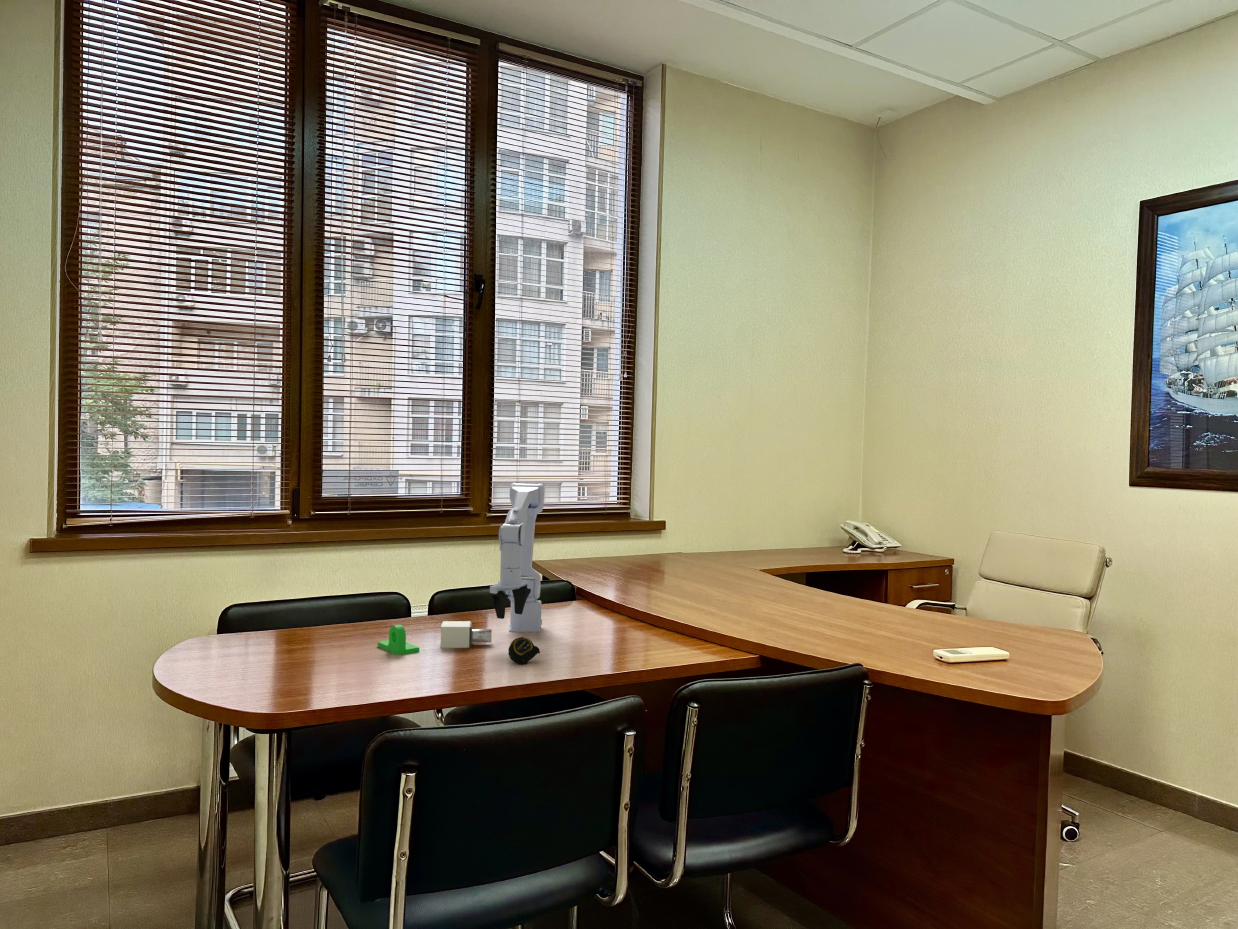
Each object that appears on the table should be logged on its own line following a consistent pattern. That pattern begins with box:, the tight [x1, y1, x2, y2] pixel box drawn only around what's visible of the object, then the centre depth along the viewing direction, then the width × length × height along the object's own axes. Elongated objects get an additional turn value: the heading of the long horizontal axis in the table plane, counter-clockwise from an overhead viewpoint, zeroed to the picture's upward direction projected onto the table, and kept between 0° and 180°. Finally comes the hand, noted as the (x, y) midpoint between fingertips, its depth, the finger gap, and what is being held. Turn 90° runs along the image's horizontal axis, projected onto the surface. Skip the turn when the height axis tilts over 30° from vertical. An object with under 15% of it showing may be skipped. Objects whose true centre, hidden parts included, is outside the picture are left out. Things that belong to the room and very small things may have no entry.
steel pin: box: [471, 628, 493, 644], centre depth 239 cm, size 9×4×4 cm, turn 97°
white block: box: [440, 620, 473, 649], centre depth 238 cm, size 8×7×6 cm
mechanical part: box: [377, 624, 420, 656], centre depth 232 cm, size 12×6×8 cm, turn 42°
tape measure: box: [507, 636, 541, 666], centre depth 221 cm, size 7×7×4 cm
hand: (509, 616), depth 240 cm, fingers open, 7 cm apart
